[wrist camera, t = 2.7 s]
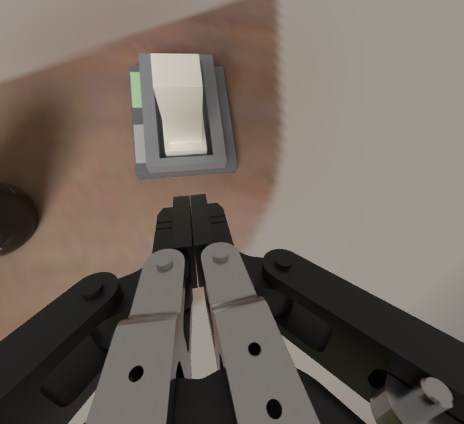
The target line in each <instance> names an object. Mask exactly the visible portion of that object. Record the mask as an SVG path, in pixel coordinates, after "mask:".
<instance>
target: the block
mask: <svg viewBox="0 0 464 424" xmlns="http://www.w3.org/2000/svg"><path fill="white" fill-rule="evenodd" d="M150 56H151V68H152V81H153V89H154V93H155V96H156V100H157V103H158V107H159V111H160V114H161V118H162V124H163V136H164V147H165V154H166V157H167V158H172V157H188V156H204V155H207V145H206V137H205V129H204V120H203V112H202V106H203V84H202V76H201V68H200V60H199V54H160V53H150Z"/></svg>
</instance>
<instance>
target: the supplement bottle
mask: <svg viewBox="0 0 464 424" xmlns="http://www.w3.org/2000/svg"><path fill="white" fill-rule="evenodd" d="M36 222H37V211H36V207H35V204H34V202H33V201H32V199H31V198H30V197H29V196H28V195H27V194H26V193H25V192H24V191H22V190H21V189H19V188H17V187H15V186H12V185H10V184H7V183H4V182H1V181H0V256H4V255H6V254H9V253H11V252H13V251H15V250H17V249H18V248H19V247H21V246H22V245H23V244H24V243H25V242H26V241H27V240H28V239H29V238H30V236H31V235H32V233H33V231H34V229H35V226H36Z"/></svg>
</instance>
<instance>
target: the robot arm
mask: <svg viewBox="0 0 464 424" xmlns="http://www.w3.org/2000/svg"><path fill="white" fill-rule="evenodd" d="M190 197H191V206H190V198H189V195H188V196H177V197H174V198H173V207H170V208H163V209H162V210H161V212H160V213H159V214H158V216H157V224H156V230H155V237H154V244H153V251H152V254H151V255H150V256H149V257H148V258H147V259H146V260H145V262H144V265H143V268H141V269H140V270H138V271H136V272H134V273H132V274H130V275H127V276H124V277H122V278H119V279H117V277H116V276H115V275H113V274H111V273H108V272H99V273H95V274H92V275H89V276H87V277H85V278H83V279H82V280H80V281H79V282H78V283H76V284H75V285H74V286H72V287H71V288H70V289H68V290H67V291H66V292H64V293H63V294H62V295H60V296H59V297H58V298H57V299H55V300H54V301H53V302H51V303H50V304H49V305H47V306H46V307H45V308H43V309H42V310H41V311H40V312H38V313H37V314H36V315H34V316H33V317H32V318H30V319H29V320H28V321H26V322H25V323H24V324H23V325H21V326H20V327H19V328H17V329H16V330H15V331H13V332H12V333H11V334H9V335H8V336H7V337H5V338H4V339H3V340H2V341H0V424H68V422H69V421H70V420H71V419H72V418H73V416H74V415H75V414H76V413H77V412H78V411H79V409H80V408H81V407H82V406H83V404H84V403H85V402H86V401H87V400H88V398H89V397H90V396H91V395H92V394H93V392H94V391H95V390H96V392H95V395H94V398H93V402H92V405H91V408H90V411H89V415H88V417H87V421H86V422H85V423H84V424H366V423H365V422H364V421H363V420H361V419H360V418H359V417H358V416H357V415H356V414H355V413H353V412H352V411H351V410H350V409H349V408H348V407H347V406H345V405H344V404H343V403H342V402H341V401H340V400H339V399H337V398H336V397H335V396H334V395H333V394H332V393H331V392H329V391H328V390H327V389H326V388H325V387H324V386H323V385H321V384H320V383H319V382H318V381H316V380H315V379H314V378H312V377H311V376H309V375H308V374H306V373H305V372H303V371H301V370H299V369H297V368H296V367H295V365H294V363H293V361H292V358H291V356H290V354H289V352H288V350H287V347H286V345H285V343H284V341H283V338H282V336H281V335H283V336H284V337H285V338H287V339H288V340H289V341H290V342H292V343H293V344H294V345H296V346H297V347H298V348H299V349H301V350H302V351H303V352H305V353H306V354H307V355H309V356H310V357H311V358H312V359H314V360H315V361H316V362H318V363H319V364H320V365H322V366H323V367H324V368H325V369H327V370H328V371H329V372H331V373H332V374H333V375H334V376H336V377H337V378H338V379H339V380H341V381H342V382H343V383H345V384H346V385H347V386H349V387H350V388H351V389H352V390H354V391H355V392H356V393H358V394H359V395H360V396H361V397H363V398H364V399H365V400H367V401H368V402H369V403H370V406H371V411H372V414H373V417H374V419H375V421H376V423H377V424H464V343H463V342H461V341H459V340H457V339H455V338H453V337H452V336H450V335H448V334H446V333H444V332H442V331H440V330H438V329H436V328H434V327H433V326H431V325H429V324H427V323H425V322H423V321H421V320H419V319H418V318H416V317H414V316H412V315H410V314H408V313H406V312H404V311H402V310H401V309H399V308H397V307H395V306H393V305H391V304H389V303H387V302H386V301H384V300H382V299H380V298H378V297H376V296H374V295H372V294H370V293H368V292H367V291H365V290H363V289H361V288H359V287H357V286H355V285H353V284H352V283H350V282H348V281H346V280H344V279H342V278H340V277H338V276H336V275H335V274H333V273H331V272H329V271H327V270H325V269H323V268H321V267H319V266H317V265H316V264H314V263H312V262H310V261H308V260H306V259H304V258H302V257H301V256H299V255H297V254H295V253H293V252H291V251H288V250H284V249H275V250H271V251H269V252H268V253H266V254H265V256H264V258H259V257H252V256H247V255H245V254H242V253H241V252H239V251H238V249H237V248H236V247H235V246H234V244H233V241H232V238H231V234H230V231H229V227H228V224H227V220H226V217H225V213H224V210H223V208H222V207H221V206H220V205H219V204H218V203H211V204H207V200H206V195H205V194H198V195H190ZM191 211H192V215H191ZM195 257H196V259H195ZM196 265H197V273H198V281H199V287H204V292H205V301H206V308H207V313H208V318H209V324H210V329H211V335H212V340H213V345H214V351H215V356H216V364H217V369H218V371H216V372H214V373H212V374H211V375H209V376H207V377H205V378H203V379H192V372H191V371H192V370H191V333H192V301H193V293H192V288H198V286H197V273H196Z"/></svg>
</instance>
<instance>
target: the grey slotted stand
mask: <svg viewBox="0 0 464 424" xmlns="http://www.w3.org/2000/svg"><path fill="white" fill-rule="evenodd" d="M138 57H139V66H129V72H130V88H131V103H132V119H133V135H134V150H135V166H136V175H137V176H138V177H139V179H151V178H164V177H177V176H190V175H203V174H216V173H229V172H235V171H236V169H237V160H236V154H235V147H234V140H233V133H232V126H231V119H230V112H229V105H228V98H227V91H226V84H225V77H224V70H223V66H214V64H213V56H212V54H199V60H200V68H201V76H202V84H203V106H202V112H203V120H204V129H205V137H206V145H207V155H204V156H188V157H172V158H167V157H166V154H165V147H164V136H163V124H162V118H161V114H160V111H159V107H158V103H157V100H156V96H155V93H154V89H153V81H152V68H151V56H150V54H138Z"/></svg>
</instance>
